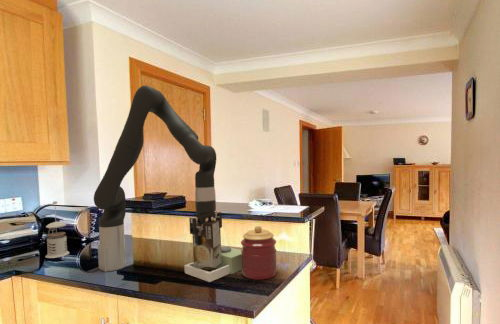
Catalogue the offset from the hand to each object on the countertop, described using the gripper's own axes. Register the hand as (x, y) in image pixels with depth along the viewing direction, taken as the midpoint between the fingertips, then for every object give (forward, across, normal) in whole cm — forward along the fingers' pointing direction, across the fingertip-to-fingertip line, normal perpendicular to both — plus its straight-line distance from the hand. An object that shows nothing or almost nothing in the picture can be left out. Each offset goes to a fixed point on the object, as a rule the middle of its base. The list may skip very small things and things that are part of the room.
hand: (207, 242), depth 118 cm
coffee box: (+8, 0, 0) cm, 8 cm away
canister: (+12, -11, +16) cm, 23 cm away
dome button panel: (+11, -4, 0) cm, 12 cm away
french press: (+12, +27, -76) cm, 81 cm away
